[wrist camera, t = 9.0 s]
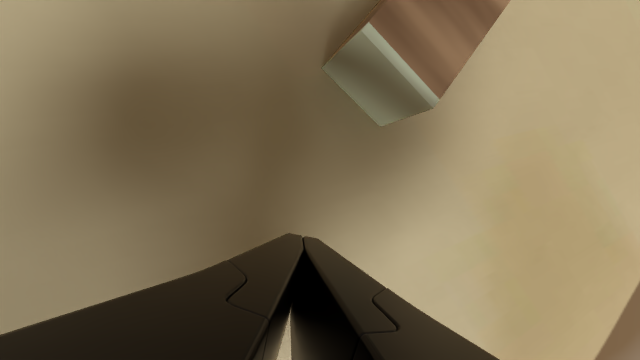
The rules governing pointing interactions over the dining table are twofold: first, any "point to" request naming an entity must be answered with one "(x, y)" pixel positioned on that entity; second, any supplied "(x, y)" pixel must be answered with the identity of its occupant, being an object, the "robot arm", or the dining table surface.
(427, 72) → the walnut block
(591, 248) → the dining table surface
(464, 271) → the dining table surface
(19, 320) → the dining table surface
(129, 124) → the dining table surface
